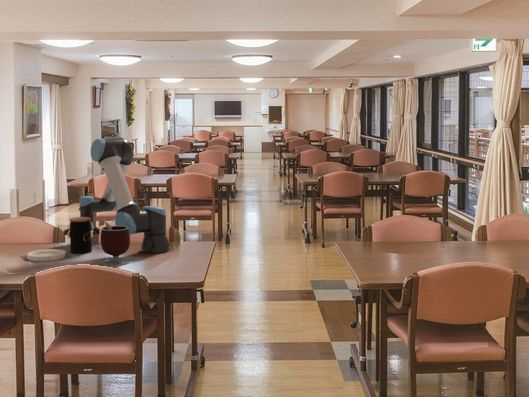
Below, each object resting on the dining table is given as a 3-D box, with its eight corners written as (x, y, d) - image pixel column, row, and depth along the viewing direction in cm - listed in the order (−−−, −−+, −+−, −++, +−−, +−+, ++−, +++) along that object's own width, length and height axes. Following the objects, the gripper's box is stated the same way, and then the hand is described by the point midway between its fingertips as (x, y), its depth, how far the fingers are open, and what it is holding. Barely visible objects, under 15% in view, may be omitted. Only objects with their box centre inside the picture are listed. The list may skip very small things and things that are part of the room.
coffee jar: (86, 255, 371) (85, 220, 368) (66, 254, 373) (65, 219, 371) (95, 251, 381) (94, 217, 379) (76, 250, 383) (75, 216, 381)
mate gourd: (136, 262, 353) (135, 221, 350) (113, 267, 342) (112, 225, 340) (116, 258, 363) (115, 218, 360) (93, 263, 352) (91, 222, 350)
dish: (71, 257, 362) (71, 253, 362) (35, 262, 351) (34, 258, 351) (57, 252, 376) (57, 247, 376) (22, 256, 366) (22, 252, 365)
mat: (74, 259, 361) (74, 258, 361) (34, 264, 349) (34, 263, 349) (57, 252, 379) (57, 251, 379) (19, 257, 367) (19, 256, 367)
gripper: (107, 234, 396) (103, 241, 375) (63, 235, 394) (56, 242, 372) (106, 220, 395) (102, 226, 374) (62, 221, 393) (56, 228, 371)
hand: (79, 234), depth 373 cm, fingers closed on coffee jar, 11 cm apart
